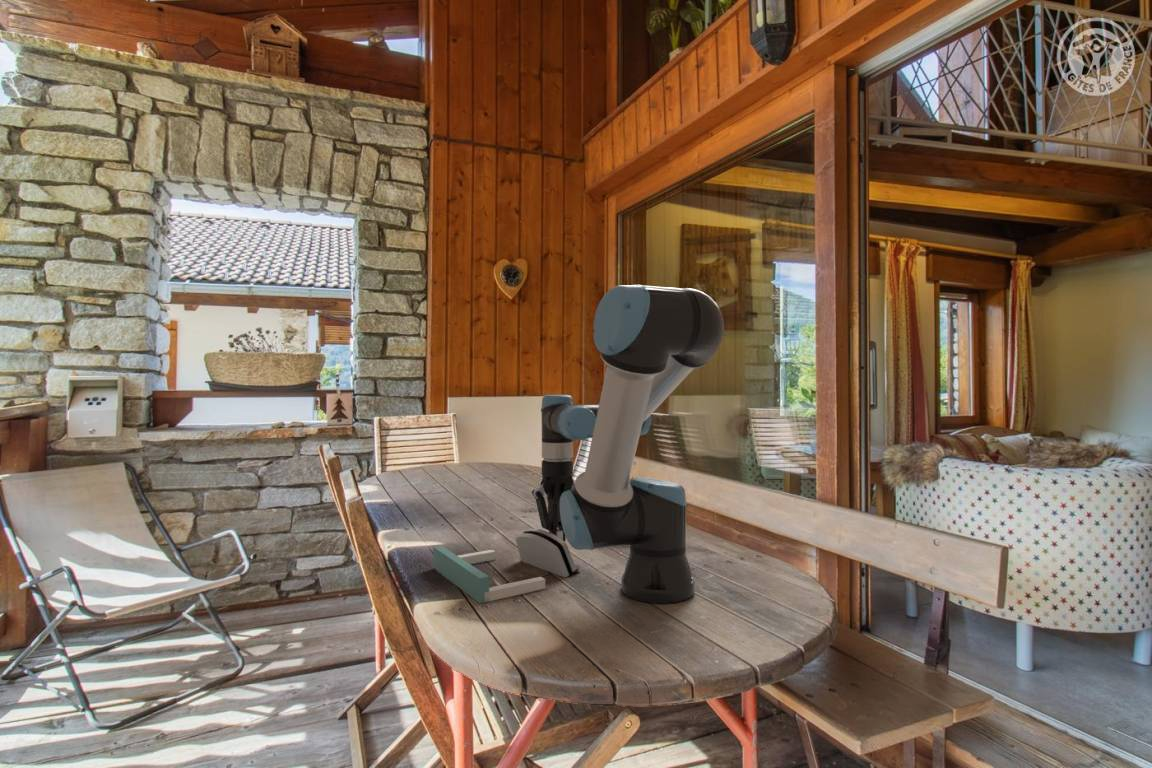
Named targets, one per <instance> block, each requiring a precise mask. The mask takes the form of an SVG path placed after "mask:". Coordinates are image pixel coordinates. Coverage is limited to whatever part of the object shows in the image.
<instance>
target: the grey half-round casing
mask: <svg viewBox="0 0 1152 768" xmlns="http://www.w3.org/2000/svg"><path fill="white" fill-rule="evenodd" d="M515 541H516V545H517V550H518V555H519V557H520V559H519V560H520V561H521V562H522V563H524V564H528V565H531V566H533V567H535V568H539V569H541V570H544V571H546V572H549V573H551V574H555V575H557V576H560V577H563V578H567V577H569V576H570V572H571V573H574V572H575V573H578V574H580V573H581V569H580V565H579V564H578V563H577V564H576V563H575V562H574V560H573V557H572V554H571V552H570V549H569V546H568V544H567V543H566V541H563V540H562V539H560V538H559V537H557V536H556V535H554V534H552V533H550V532H549V531H548V530H544V529H540V528H531V529H527V530H524V531H523V532H522V533H519V535H517V537H516V538H515Z"/></svg>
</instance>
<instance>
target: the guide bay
mask: <svg viewBox="0 0 1152 768" xmlns="http://www.w3.org/2000/svg"><path fill="white" fill-rule="evenodd" d="M432 551H433V552H432V553H433V554H432V555H433V563H432V565H433V569H434V568H435V569H436V570H437V571H436V570H435V569H434V570H435V571H436V572H437V573H439V574H440V573H441V574H440V575H442V576H443V577H444V578H446V579H447V580H448V581H449V582H451V583H452V584H454V585H455V586H456V587H457V588H459V589H460V590H461V591H463V592H464V593H465V594H467V595H468V596H469V597H471V598H472V599H473V600H475V601H476V602H477V603H478V604H483V603H489V602H492V601H497V600H501V599H506V598H510V597H515V596H519V595H523V594H527V593H532V592H537V591H542V590H545V589H546V578H544V577H542V576H537V577H533V578H528V579H523V580H518V581H513V582H509V583H505V584H503V583H502V584H499V585H496V586H494V585H493V586H491V587H490V576H489V575H488V574H487V573H484V572H483V571H481V570H480V569H478V568H477V567H475V566H474V565H475V564H480V563H484V562H485V561H486V562H491V561H495V560H496V551H495V550H493V549H487V550H482V551H476V552H471V553H464V554H458V555H456V553H454V552H452V551H451V550H449V549H447V548H446V547H445V546H442V545H437V546H434V547H433V550H432Z"/></svg>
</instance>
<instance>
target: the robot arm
mask: <svg viewBox="0 0 1152 768" xmlns="http://www.w3.org/2000/svg"><path fill="white" fill-rule="evenodd" d="M722 313H723V312H722V311H721V309H720V307H719V306H718V304H717V302H715V301H714V299H713V298H712V297H711V296H709V295H708V294H707V293H704V292H703V291H701V290H698V289H695V288H690V287H689V288H688V287H683V288H682V287H681V288H680V287H668V286H667V287H666V286H653V285H643V284H636V283H635V284H631V285H629V284H627V285H625V284H622V285H621V284H620V285H616V286H613V287H612V288H610V289H609V290H608V291H607V292H605V293H604V295H603V296H602V298H601V299H600V302H599V303H598V305H597V308H596V311H595V314H594V320H593V324H592V325H593V327H592V328H593V330H594V332H593V341H594V344H595V347H596V349H597V351H599V352H600V358H601V360H602V361H603V363H604V365H606V370H605V373H604V374H605V375H604V380H603V384H602V388H601V394H600V399H599V403H598V404H574V400H573V396H571V395H570V394H545V395H544V396H543V397H542V399H541V409H540V412H541V458H542V459H543V460H542V461H541V477H542V478H541V482H540V485H539V487H538V488H537V489H533V490H532V491H531V494H532V496H533V498H534V499H535V503H536V506H537V510H538V517H539V520H540V521H539V522H540V526H541V528H542V529H543V530H544V529H545V531H548V532H550V533H552V534H554V535H556V536H557V537H559V538H560V539H562V540H563V541H565V542H566V540H567V542H568V544H569V545H570V546H571V547H572V548H573V549H574V550H576V551H577V550H578V551H584V550H585V551H586V550H588V551H589V550H590V551H594V550H598V549H605V548H612V547H621V546H627V545H628V546H629V553H628V554H629V555H628V556H627V560H626V564H625V569H624V573H623V574H622V576H621V582H620V583H621V585H620V586H621V591H622V594H624V595H626V596H627V597H628V596H629V598H630V597H631V599H633V598H634V599H633V600H637V601H639V600H640V602H644V603H650V602H651V603H652V604H669V603H668V602H675V603H678V602H677V601H680V602H683V601H682V600H684V601H686V600H685V599H687V598H689V599H691V598H692V597H693V596H694V595H695V581H694V579H695V578H694V577H693V576H692V572H691V568H690V564H689V561H688V558H687V553H686V551H687V550H686V548H687V547H686V546H687V538H686V537H687V507H688V505H687V499H686V498H687V497H686V496H687V495H686V491H685V488H684V487H683V486H682V484H679V483H677V482H672V481H669V480H664V479H658V478H652V477H651V478H649V477H631V478H630V476H631V473H632V468H633V464H634V460H635V456H636V452H637V448H638V444H639V440H640V437H641V436H645V435H646V434H648V432H649V431H650V427H651V426H652V414H653V413H654V412H655V411H656V410H657V409H658V407H660V406H661V405H662V403H664V401H665V400H666V399H667V398H668V397H669V396H670V395H671V394H672V392H674V391H675V389H676V388H677V387H678V386H679V385H680V384H681V383H682V382H683V381H684V380H685V379H686V377H688V375H689V374H690V373H691V372H693V370H695V369H700V368H701V367H704V366H705V365H706V364H707V363H709V361H710V360H711V359H712V358H713V357H714V356H715V355H716V353H717V352H718V350H719V348H720V346H721V344H722V342H723V337H724V333H725V323H724V322H725V321H724V317H723V314H722ZM587 439H591V441H590V445H589V451H588V456H587V462H586V466H585V471H584V472H581V473H580V474H579V475H578V476H577V477H576V479H575V481H574V479H573V474H574V461H573V460H572V459H573V458H574V441H585V440H587ZM629 479H630V482H628V481H629ZM545 495H546V498H545ZM546 500H547V504H546ZM693 594H694V595H693ZM692 595H693V596H692ZM691 596H692V597H691ZM690 597H691V598H690ZM687 600H688V599H687ZM651 603H650V604H651Z"/></svg>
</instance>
